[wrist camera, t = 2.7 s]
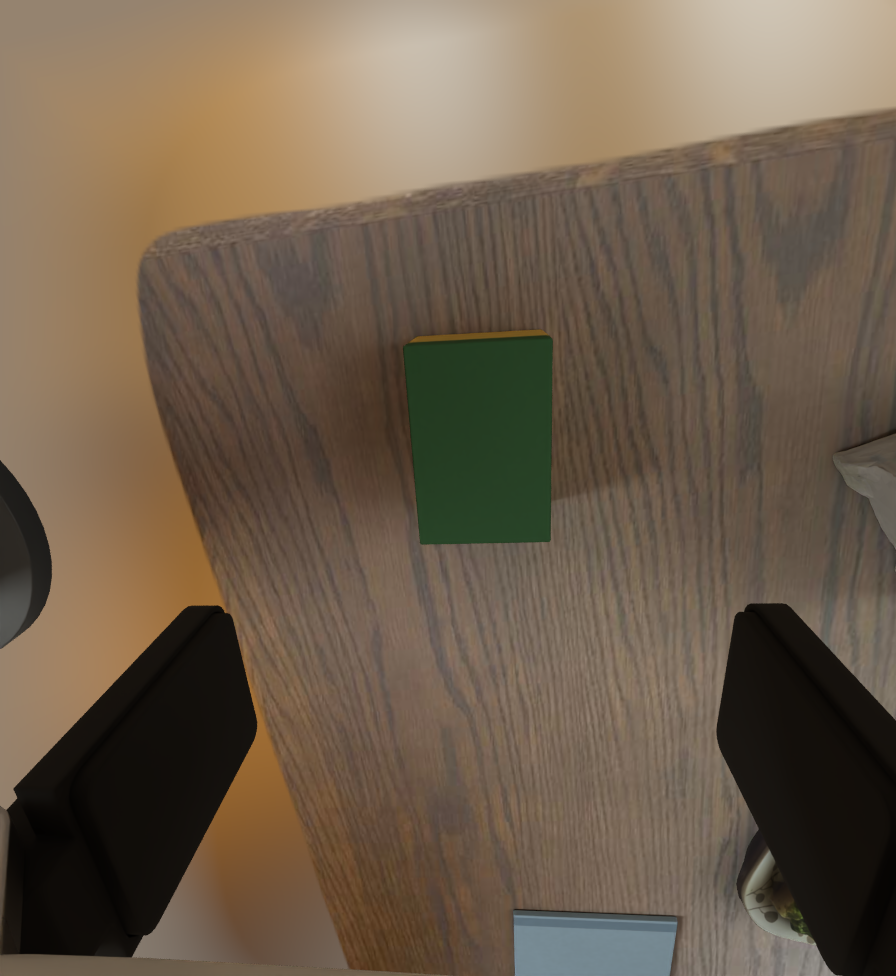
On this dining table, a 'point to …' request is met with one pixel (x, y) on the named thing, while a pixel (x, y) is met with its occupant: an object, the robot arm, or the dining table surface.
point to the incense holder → (873, 478)
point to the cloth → (592, 944)
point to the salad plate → (769, 895)
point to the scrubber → (481, 435)
